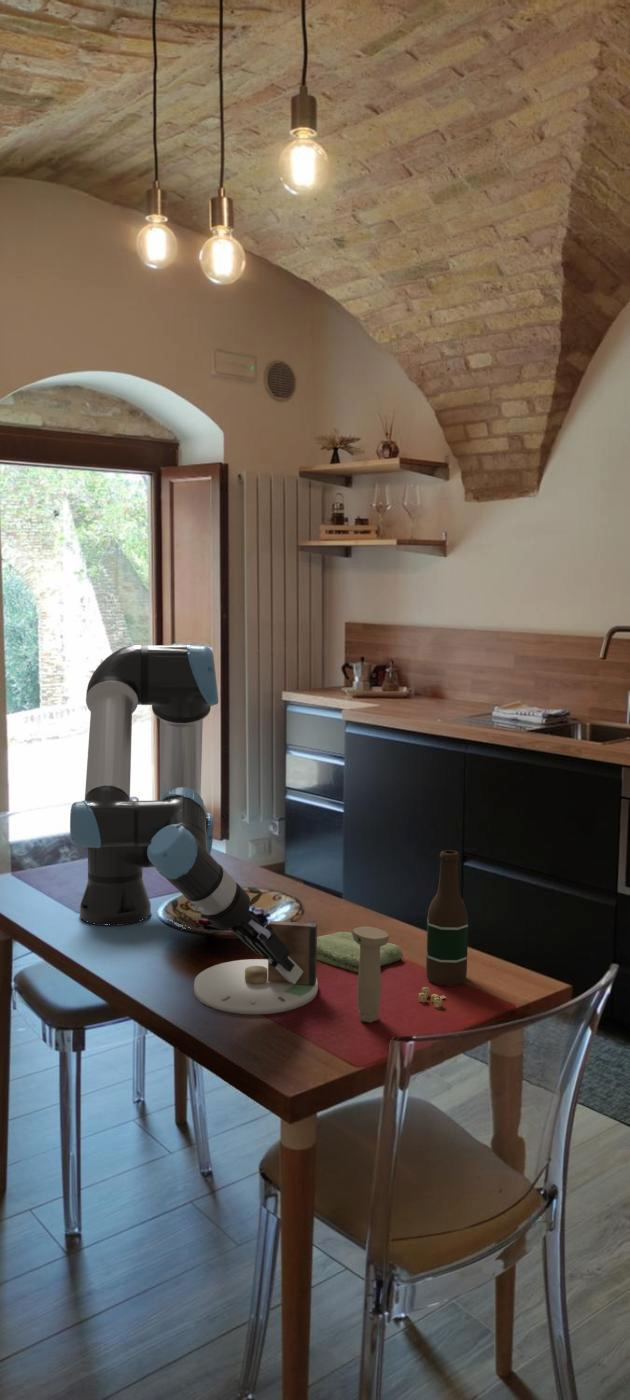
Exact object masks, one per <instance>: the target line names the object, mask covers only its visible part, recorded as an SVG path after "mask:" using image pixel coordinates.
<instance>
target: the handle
mask: <svg viewBox="0 0 630 1400" xmlns="http://www.w3.org/2000/svg"><path fill="white" fill-rule="evenodd" d="M352 934H353V938H354V940H355V941H356V942H357V943H358V944H359V945H360V962H359V973H358V976H357V1006H358V1015H359V1016H358V1017H359V1019H360V1021H361V1022H362V1023H365V1022H366V1023H370V1024H371V1023H373V1022H377V1021H378V1019H379V1014H380V1013H378V1012H379V1010H380V1006H381V998H382V975H381V974H382V973H381V972H382V971H381V970H382V969H381V966H380V947H381V946H383V945H385V944H387V943H389V936H390V935H389V934H388V932H387V931H385V930H383V929H382V928H381V929H380V928H378V927H374V926H367V925H366V926H359V927H355V928H353V929H352Z"/></svg>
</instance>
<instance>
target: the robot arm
mask: <svg viewBox="0 0 630 1400" xmlns="http://www.w3.org/2000/svg"><path fill="white" fill-rule="evenodd" d="M215 666H216V665H215V657H214V653H213V651H212V649H211V648H210V647H208V646H205V645H193V644H187V645H166V644H164V645H157V644H156V645H154V644H153V645H152V644H151V645H150V644H149V645H145V644H144V645H142V644H134V645H133V644H132V645H128V646H124V647H121V648H120V649H117V650H115V651H114V652H113V653H111V654H110V655H108V656H107V657H106V658H105V659H104V660H103V661H102V662H101V663H100V664H99V665H98V666H97V667H96V669H95V670H94V671H93V673H92V675H91V677H90V679H89V682H88V684H87V687H86V694H85V697H86V698H85V703H86V706H87V709H88V711H89V712H90V718H89V730H88V731H89V733H88V747H87V760H86V761H87V763H86V776H85V778H86V779H85V788H84V791H85V792H84V800H81V801H75V802H73V803H72V805H70V806H71V807H70V814H69V815H70V816H69V819H70V820H69V832H70V833H69V834H70V836H69V837H70V841H71V843H72V845H73V846H75V847H79V848H87V883H86V886H85V889H84V893H83V896H82V899H81V900H80V901H81V902H80V905H79V918H80V917H81V918H82V919H83V920H85V921H88V922H91V923H95V924H94V925H97V924H108V925H107V926H118V925H117V924H125V925H128V924H127V923H131V924H133V923H132V922H136V923H138V922H137V921H139V922H141V921H140V920H142V919H144V920H146V919H147V918H146V917H148V916H149V915H150V916H151V914H150V913H151V911H152V910H151V909H152V908H151V907H152V905H151V900H150V898H149V895H148V892H147V891H148V890H147V888H146V886H145V883H144V879H143V875H144V874H143V873H144V872H143V869H144V868H146V869H147V868H155V869H156V871H158V874H160V876H162V877H163V878H165V879H166V880H167V881H168V882H169V883H170V884H171V885H172V886H173V887H175V888H176V889H177V891H179V893H181V894H182V895H183V897H185V898H186V900H188V901H189V902H190V903H191V904H192V905H191V910H193V911H197V910H198V911H199V912H200V913H201V914H202V915H203V916H204V918H205V919H206V920H207V921H209V922H210V924H211V925H213V927H215V929H218V930H220V931H223V930H224V931H225V930H229V931H231V932H232V933H233V934H234V935H235V936H236V937H237V938H239V939H240V940H241V941H242V942H243V943H244V944H245V945H246V946H247V947H248V948H249V949H250V950H252V951H253V952H254V953H255V954H256V955H261V956H262V959H266V960H268V959H269V960H268V961H269V962H270V963H271V964H270V965H271V966H273V967H274V968H276V969H277V970H278V971H279V973H280V974H281V975H282V976H283V977H284V978H285V979H286V980H287V981H289V982H292V983H293V984H295V983H296V982H297V980H298V979H299V978H300V976H301V975H302V973H303V972H304V971H303V970H302V969H301V968H300V967H299V966H298V965H297V964H296V963H295V962H294V961H293V960H292V959H291V958H290V957H289V954H290V951H289V950H288V949H287V948H286V946H285V945H284V944H283V943H282V941H281V940H280V939H279V938H278V936H277V935H276V934H275V933H274V930H273V928H272V927H271V926H270V925H269V924H266V925H264V924H263V922H261V921H260V920H259V918H258V915H257V914H256V913H255V912H253V911H251V910H250V907H251V898H250V896H249V894H248V893H247V891H245V890H244V888H242V886H240V885H239V883H238V882H236V880H235V879H234V878H233V876H231V874H230V873H229V872H228V871H227V870H226V869H225V868H224V867H223V866H222V865H221V864H219V863H218V862H217V861H216V859H215V858H214V857H213V856H212V855H211V853H212V848H213V842H214V840H213V837H214V829H215V825H214V824H215V822H214V816H213V814H212V812H208V810H207V807H206V805H205V804H204V801H203V798H202V796H201V795H202V790H201V789H202V762H203V760H202V759H203V757H202V756H203V754H202V753H203V724H204V723H203V722H204V719H205V718H207V717H208V715H209V714H210V713H211V707H213V706H216V705H218V703H219V693H218V684H217V674H216V667H215ZM139 705H140V706H141V705H142V706H151V710H152V713H153V714H154V716H155V717H156V718H158V719H159V799H158V800H131V773H132V772H131V769H132V765H131V763H132V731H133V729H132V728H133V714H134V713H135V711H136V710H137V708H138V706H139ZM150 916H149V917H150ZM149 917H148V918H149ZM81 918H80V919H81ZM145 918H146V919H145ZM82 919H81V920H82ZM83 920H82V921H83ZM85 921H84V922H85ZM142 921H143V920H142ZM88 922H87V923H88ZM91 923H90V924H91ZM109 924H110V925H109Z"/></svg>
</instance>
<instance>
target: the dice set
mask: <svg viewBox="0 0 630 1400" xmlns="http://www.w3.org/2000/svg"><path fill="white" fill-rule="evenodd" d="M429 995H430V996H429ZM427 996H429V998H430V997H431V998H430V1001H431V1002H434V1003H433V1007H434V1006H436V1007H440V1006H442V1007H443V1000H442V999H443V998H446V999H447V997H446V996H445V995H439V994H436V993H433V994H431V989H430V987H426V986H424V987H422V988H421V992H419V993H418V1000H419V1001H421V1002H425V1001H426V1002H427V1000H428V999H427V998H428V997H427ZM439 997H440V998H439Z"/></svg>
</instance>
